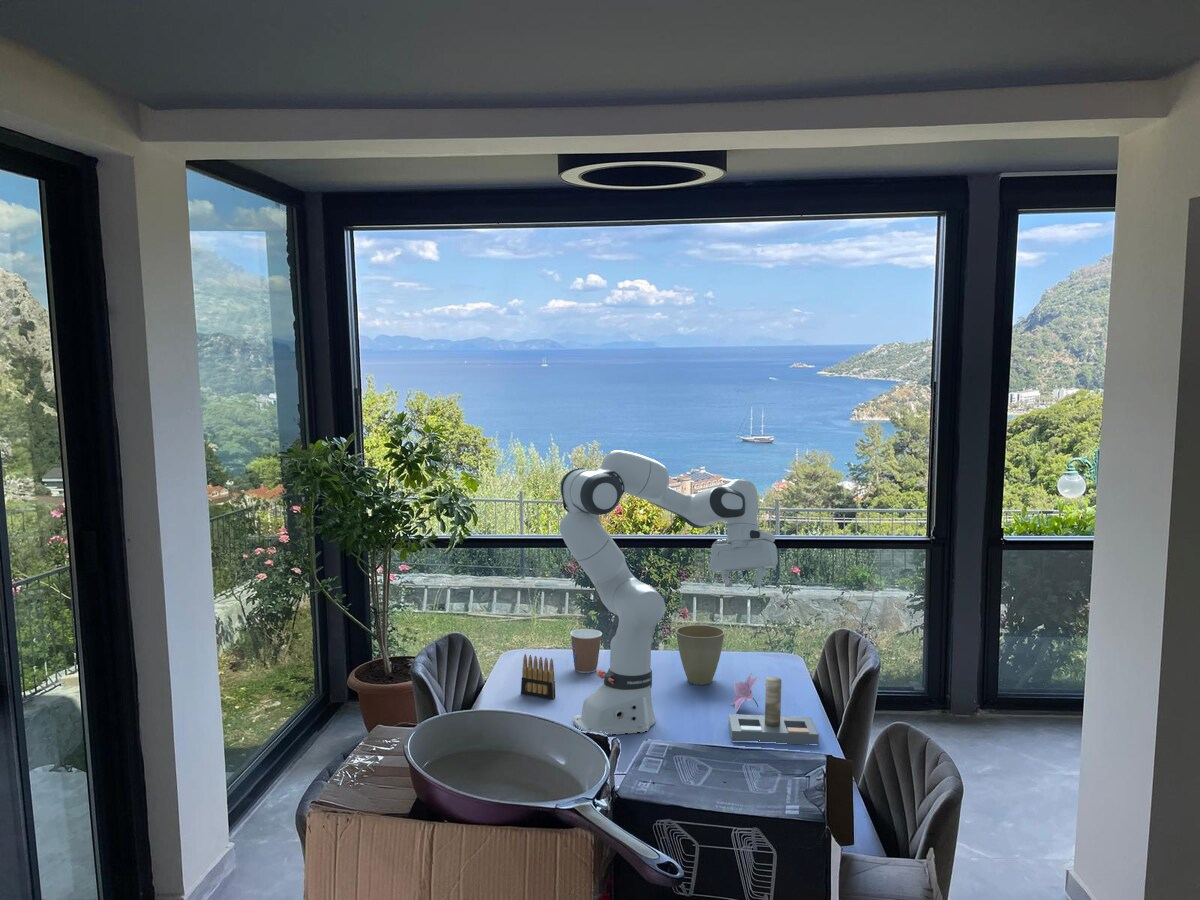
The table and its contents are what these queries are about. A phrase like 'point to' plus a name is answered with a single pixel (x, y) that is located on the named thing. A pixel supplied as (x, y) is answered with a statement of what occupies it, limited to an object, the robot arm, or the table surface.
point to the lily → (743, 691)
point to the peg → (773, 701)
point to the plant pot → (700, 651)
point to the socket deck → (773, 729)
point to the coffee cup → (585, 649)
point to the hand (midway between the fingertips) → (743, 586)
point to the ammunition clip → (538, 678)
